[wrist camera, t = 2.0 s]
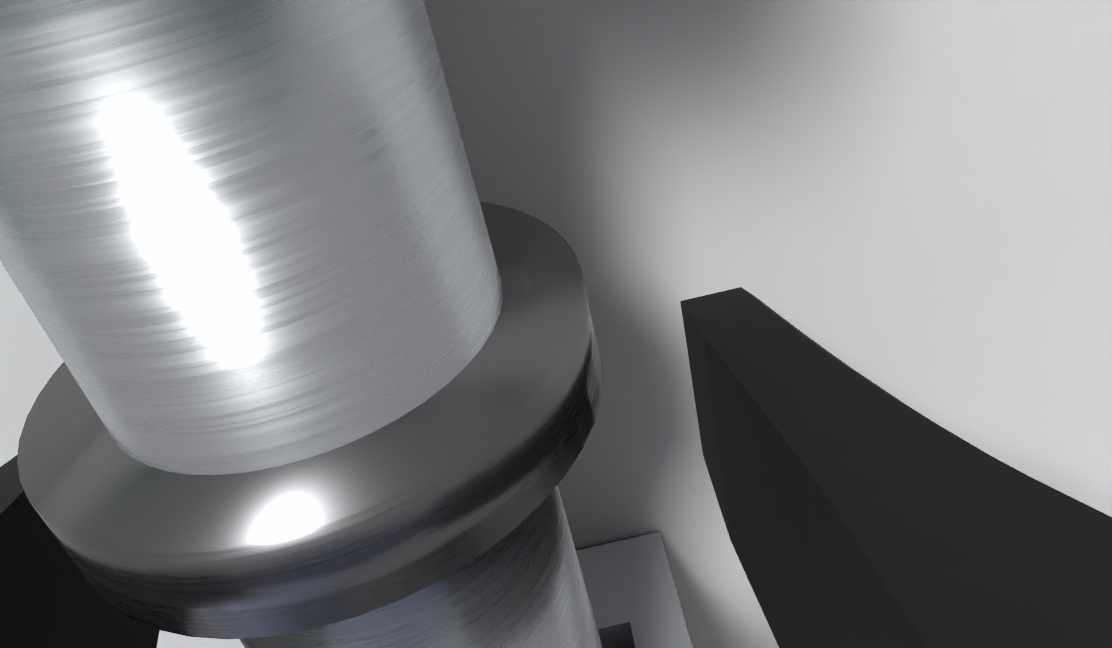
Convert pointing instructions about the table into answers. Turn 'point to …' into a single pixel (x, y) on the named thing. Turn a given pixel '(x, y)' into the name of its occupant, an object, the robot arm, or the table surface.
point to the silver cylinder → (288, 330)
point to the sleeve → (634, 594)
